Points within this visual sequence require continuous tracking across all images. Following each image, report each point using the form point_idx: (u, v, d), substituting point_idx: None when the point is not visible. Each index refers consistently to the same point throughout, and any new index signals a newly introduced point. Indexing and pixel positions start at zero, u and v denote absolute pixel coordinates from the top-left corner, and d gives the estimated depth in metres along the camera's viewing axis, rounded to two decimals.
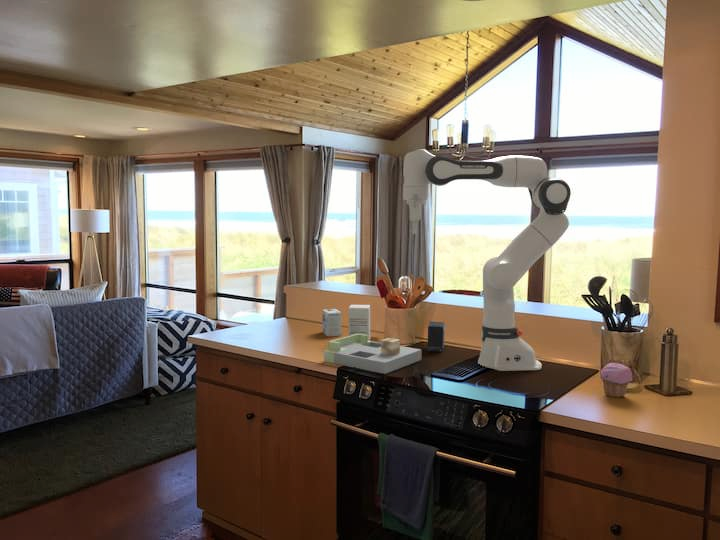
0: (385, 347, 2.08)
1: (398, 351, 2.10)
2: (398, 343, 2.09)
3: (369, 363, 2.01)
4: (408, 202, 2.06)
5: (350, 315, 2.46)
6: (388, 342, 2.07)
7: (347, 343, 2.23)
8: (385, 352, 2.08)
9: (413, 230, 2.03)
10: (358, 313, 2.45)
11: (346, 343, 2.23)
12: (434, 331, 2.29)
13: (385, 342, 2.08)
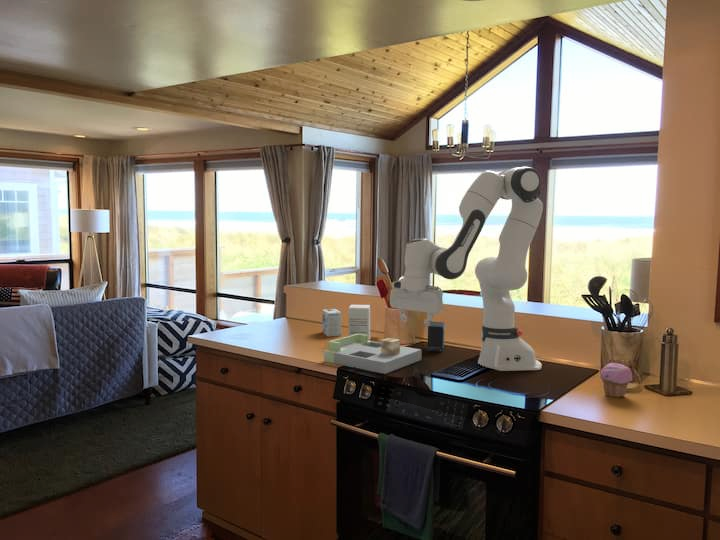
0: (385, 347, 2.08)
1: (398, 351, 2.10)
2: (398, 343, 2.09)
3: (369, 363, 2.01)
4: (417, 293, 1.98)
5: (350, 315, 2.46)
6: (388, 342, 2.07)
7: (347, 343, 2.23)
8: (385, 352, 2.08)
9: (428, 322, 1.98)
10: (358, 313, 2.45)
11: (346, 343, 2.23)
12: (434, 331, 2.29)
13: (385, 342, 2.08)
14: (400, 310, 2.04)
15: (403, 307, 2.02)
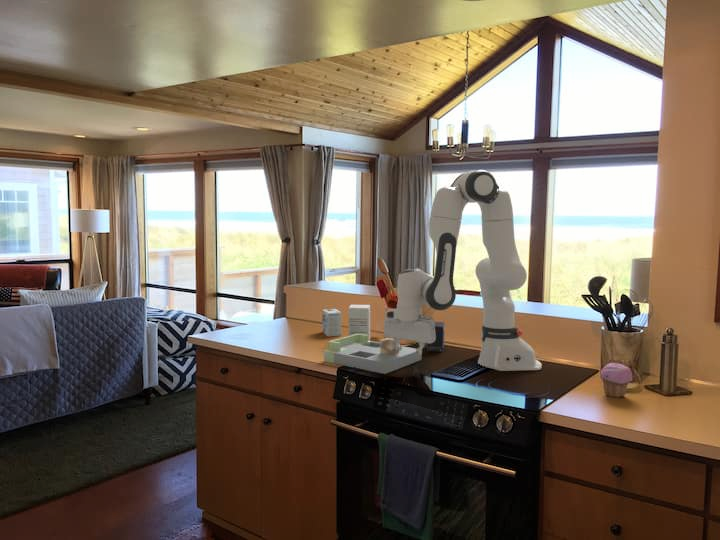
0: (385, 347, 2.08)
1: (397, 351, 2.10)
2: None
3: (369, 363, 2.01)
4: (410, 323, 2.01)
5: (350, 315, 2.46)
6: (387, 342, 2.07)
7: (347, 343, 2.23)
8: (384, 352, 2.08)
9: (420, 351, 2.01)
10: (358, 313, 2.45)
11: (346, 343, 2.23)
12: None
13: (384, 342, 2.08)
14: (395, 339, 2.07)
15: (396, 336, 2.05)
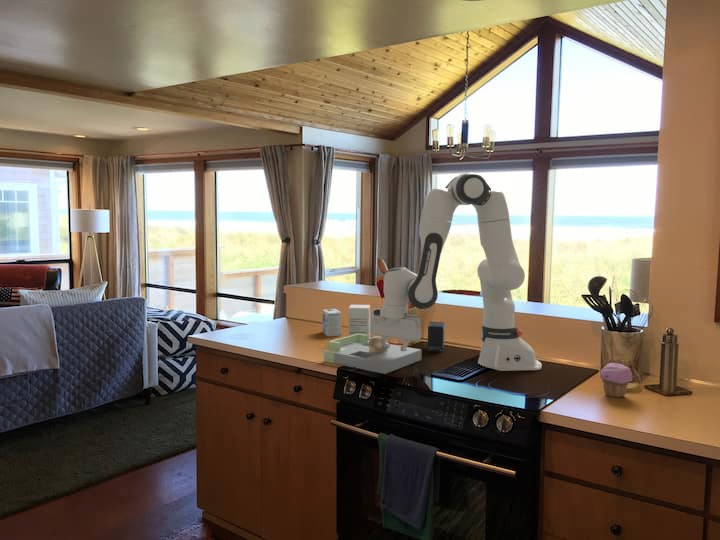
0: (373, 345, 2.11)
1: (386, 349, 2.13)
2: None
3: (369, 363, 2.01)
4: (396, 320, 2.04)
5: (350, 315, 2.46)
6: (376, 340, 2.10)
7: (347, 343, 2.23)
8: (373, 350, 2.11)
9: (404, 348, 2.05)
10: (358, 313, 2.45)
11: (346, 343, 2.23)
12: (434, 331, 2.29)
13: (373, 340, 2.11)
14: (383, 337, 2.10)
15: (383, 334, 2.09)
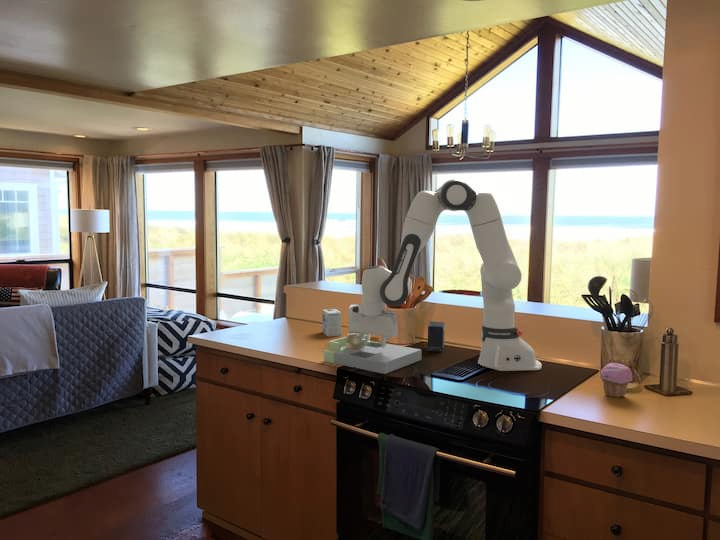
0: (350, 341, 2.17)
1: (363, 345, 2.19)
2: None
3: (369, 363, 2.01)
4: (373, 317, 2.10)
5: None
6: (353, 336, 2.16)
7: None
8: (350, 346, 2.17)
9: (383, 344, 2.11)
10: None
11: None
12: (434, 331, 2.29)
13: (350, 337, 2.17)
14: (360, 333, 2.16)
15: (361, 330, 2.15)
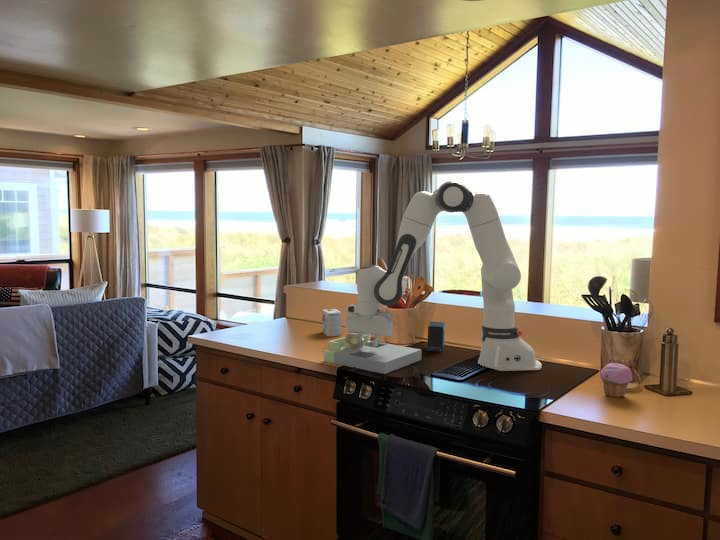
0: (349, 341, 2.17)
1: (361, 345, 2.19)
2: None
3: (369, 363, 2.01)
4: (369, 317, 2.11)
5: None
6: (351, 336, 2.17)
7: None
8: (349, 346, 2.18)
9: (375, 343, 2.13)
10: None
11: None
12: (434, 331, 2.29)
13: (349, 336, 2.17)
14: (359, 333, 2.16)
15: (357, 330, 2.16)
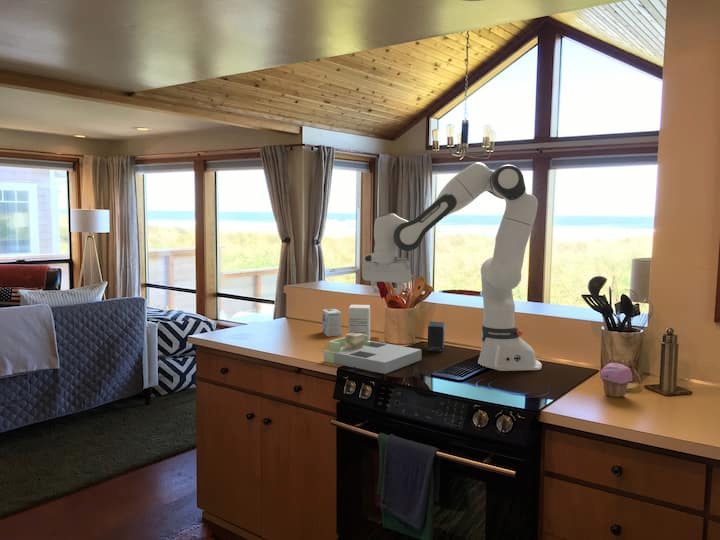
0: (349, 341, 2.17)
1: (361, 345, 2.19)
2: (361, 337, 2.19)
3: (369, 363, 2.01)
4: (386, 264, 2.11)
5: (350, 315, 2.46)
6: (351, 336, 2.17)
7: None
8: (349, 346, 2.18)
9: (398, 291, 2.12)
10: (358, 313, 2.45)
11: None
12: (434, 331, 2.29)
13: (349, 336, 2.17)
14: (372, 282, 2.18)
15: (375, 279, 2.16)
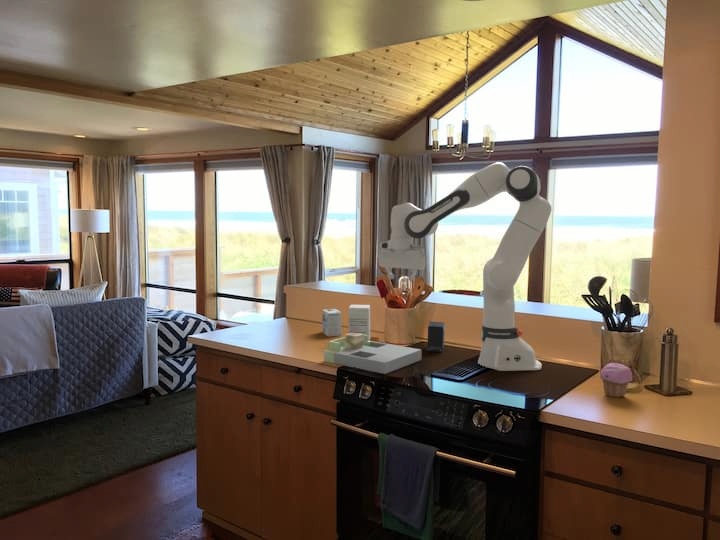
0: (349, 341, 2.17)
1: (361, 345, 2.19)
2: (361, 337, 2.19)
3: (369, 363, 2.01)
4: (402, 251, 2.21)
5: (350, 315, 2.46)
6: (351, 336, 2.17)
7: None
8: (349, 346, 2.18)
9: (412, 277, 2.21)
10: (358, 313, 2.45)
11: None
12: (434, 331, 2.29)
13: (349, 336, 2.17)
14: (388, 268, 2.27)
15: (390, 265, 2.26)
